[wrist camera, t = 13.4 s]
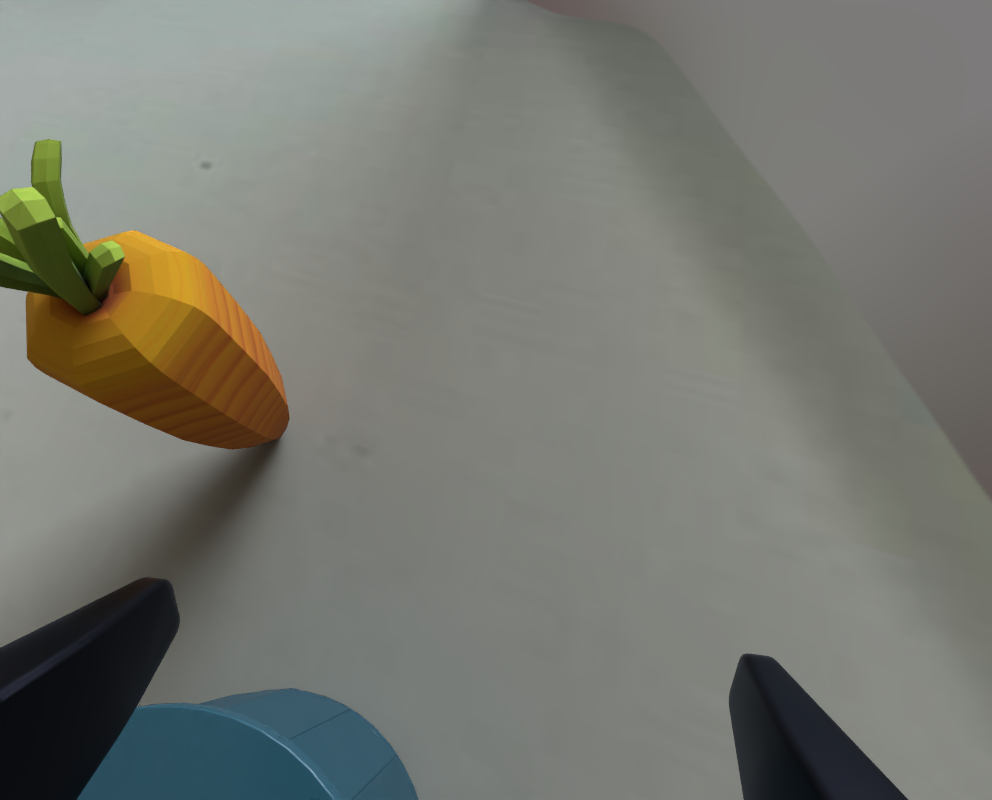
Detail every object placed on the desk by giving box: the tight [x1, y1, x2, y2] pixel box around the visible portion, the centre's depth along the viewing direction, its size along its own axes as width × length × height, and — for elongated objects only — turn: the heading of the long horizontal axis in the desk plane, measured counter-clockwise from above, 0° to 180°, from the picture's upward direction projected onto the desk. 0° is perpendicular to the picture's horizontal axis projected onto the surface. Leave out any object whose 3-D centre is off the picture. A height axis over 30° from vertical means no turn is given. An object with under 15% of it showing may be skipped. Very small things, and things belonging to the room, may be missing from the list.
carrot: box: [0, 139, 289, 450], centre depth 18 cm, size 5×5×15 cm
